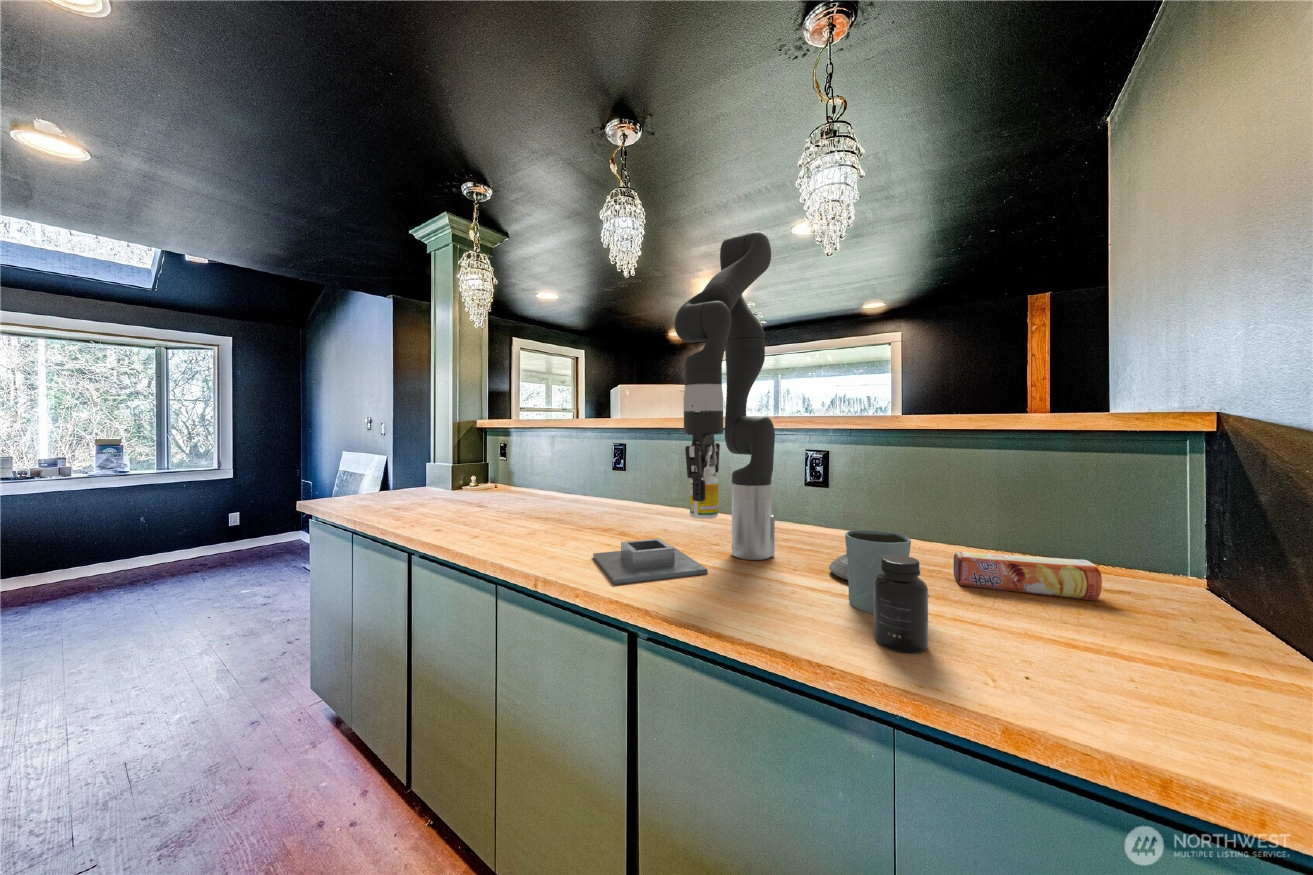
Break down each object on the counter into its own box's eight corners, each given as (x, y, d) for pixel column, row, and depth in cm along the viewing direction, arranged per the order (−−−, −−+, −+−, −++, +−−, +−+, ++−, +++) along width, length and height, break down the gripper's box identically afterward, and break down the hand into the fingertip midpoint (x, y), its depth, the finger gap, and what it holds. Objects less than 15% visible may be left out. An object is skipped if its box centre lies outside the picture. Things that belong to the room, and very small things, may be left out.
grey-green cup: (833, 603, 79) (834, 534, 79) (861, 590, 86) (862, 526, 86) (894, 622, 72) (895, 546, 71) (920, 606, 78) (920, 536, 78)
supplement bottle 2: (880, 628, 70) (880, 549, 69) (931, 641, 65) (932, 557, 65) (867, 644, 64) (868, 559, 64) (922, 660, 60) (923, 569, 60)
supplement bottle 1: (684, 516, 87) (683, 466, 87) (701, 512, 91) (700, 464, 91) (707, 520, 83) (707, 468, 83) (723, 515, 87) (723, 466, 87)
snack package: (958, 588, 87) (958, 553, 87) (951, 578, 93) (952, 545, 93) (1104, 605, 79) (1104, 566, 79) (1086, 593, 85) (1086, 556, 85)
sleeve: (672, 549, 114) (672, 531, 114) (707, 573, 96) (707, 552, 95) (593, 557, 108) (593, 538, 107) (614, 585, 89) (614, 562, 89)
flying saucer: (903, 597, 83) (903, 567, 83) (819, 580, 92) (819, 553, 92) (915, 576, 95) (915, 549, 95) (840, 563, 104) (840, 539, 104)
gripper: (696, 410, 95) (697, 492, 95) (670, 408, 82) (671, 503, 82) (732, 410, 92) (732, 494, 92) (711, 408, 79) (711, 506, 79)
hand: (703, 497), depth 87 cm, fingers closed on supplement bottle 1, 5 cm apart
